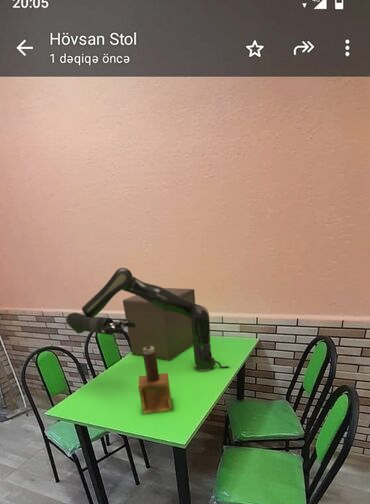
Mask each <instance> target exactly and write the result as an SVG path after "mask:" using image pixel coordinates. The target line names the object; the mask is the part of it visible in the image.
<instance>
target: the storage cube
mask: <svg viewBox="0 0 370 504" xmlns="http://www.w3.org/2000/svg"><path fill="white" fill-rule="evenodd" d="M162 288H163V289H166V290H168V291H170V292H172V293H174V294H176V295H178V296H180V297H181V298H183V299H185V300H187V301H189V302H192V303H195V304H196V295H195V289H194V288H176V287H173V288H172V287H162ZM122 305H123V311H124V316H125V320H130V322H134V323H135V326H136V327H135V328H131V327H126V328H127V333H128V339H129V343H130V350H131V355H134V356H141V357H143V348H144V347H147V346H153V347H154V350H155V351H156V358H157V360H158V359H159V360H164V361H171V360H173V359H174V358H176V357H177V356H178V357H179V355H181V354H182V353H184V352H185V351H187V350H188V349H190V348H191V347H194V346H193V335H192V324H191V319H190V318H189V317H187V316H185V315H183V314H181V313H178V312H173V311H168V310H165V309H162V308H160V307H158V306H157V305H154V304H152V303H150V302H148V301H146V300H145V299H143V298H141V297H140V296H137V295H135V294H134V295H132V296H130V297H127V298H123V300H122Z"/></svg>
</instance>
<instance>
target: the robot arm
mask: <svg viewBox="0 0 370 504" xmlns="http://www.w3.org/2000/svg"><path fill="white" fill-rule="evenodd" d="M163 288H164V287H162V286H159V285H157V284H151V283H147V282H144V281H142V280H141V279H138V278H137V277H135V276H133V273H132V271H131V270H130V269H128V268H126V267H120V268H117V270H115V272H114V273H113V275H112V276H111V277H110V278H109V280H108V281H107V283H106V284H105V285H104V286H103V287H102V288H100V290H99V291H98V292H96V294H95V295H93V297H91V298H90V299H89V300H88V301H87V302H86V303H85V304H84V305H83V306H82V307H81V311H82V313H83V314H82V313H79V312H70V313H68V314H67V316H66V317H65V323H66V324H67V326H69V328H71V329H72V330H73V331H74V332H75V333H77V334H83V333H84V332H89V333H95V334H101V335H106V336H107V335H108V336H112V335H113V334H119V335H120V334H121V335H122V334H124V333H125V332H124V329H126V328H127V327H131V328H135V327H136V326H135V323H134V322H130V320H126V319H121V318H120V319H118V321H117V320H113V319H112V318H111V317H105V316H104V317H103V316H97V315H98V314H100V312H101V311H102V310H104V308H105V307H106V306H107V305H108V304H109V302H110V301H111V300H112V299H113V298H114V296H115V295H117V294H118V293H119V292H121V291H124V292H127V293H130V294H132V295H134V296H135V295H137V296H140V297H141V298H143V299H145V300H146V301H148V302H150V303H152V304H154V305H157V306H158V307H160V308H162V309H165V310H168V311H173V312H178V313H181V314H183V315H185V316H187V317H189V318H190V319H191V324H192V335H193V346H192V347H193V357H194V369H195V370H196V371H199V372H207V371H210V370H213V366H216V364H218V366H219V368H221V369H228V368H229V366H230V365H226V366H222V365H221V363H220V362H219V361H216V360H215V358H214V357H213V353H212V345H211V343H212V342H211V324H210V312H209V310H208V309H207V308H206V307H205V306H203V305H200V304H197V303H196V302H195V303H192V302H189V301H187V300H185V299H183V298H181V297H180V296H178V295H176V294H174V293H172V292H170V291H168V290H166V289H163Z"/></svg>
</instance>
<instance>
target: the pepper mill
mask: <svg viewBox="0 0 370 504" xmlns="http://www.w3.org/2000/svg"><path fill="white" fill-rule="evenodd" d="M142 357H143V362H144V370H145V375H146V376H147V381H149V382H155V381H157V380H159V374H160V373H159V372H160V371H159V365H158V361H157V360H158V358H156V351H155V350H154V347H153V346H147V347H144V348H143V356H142Z"/></svg>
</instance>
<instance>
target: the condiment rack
mask: <svg viewBox="0 0 370 504" xmlns="http://www.w3.org/2000/svg"><path fill="white" fill-rule="evenodd" d="M138 392H139V398H140V403H141V408H142V414H153V413H161V412H170V411H173V404H172V394H171V386H170V380H169V373H168V372H165V373H164V372H163V373H159V380H157V381H155V382H149V381H147V376H146V374H145V375H139V376H138Z"/></svg>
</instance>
